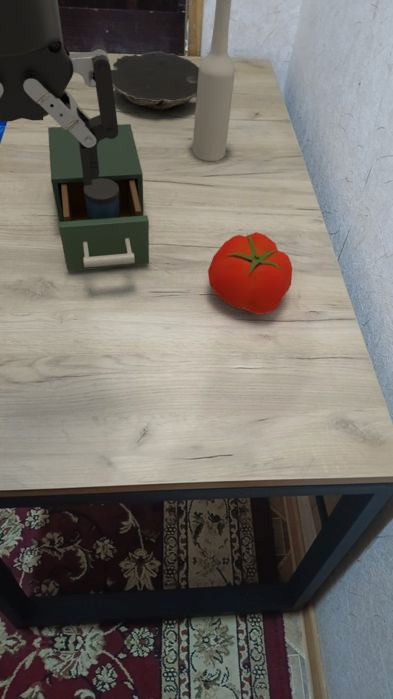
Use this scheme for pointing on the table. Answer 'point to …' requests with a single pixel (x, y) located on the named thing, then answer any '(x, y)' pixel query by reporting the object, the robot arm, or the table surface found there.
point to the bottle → (214, 91)
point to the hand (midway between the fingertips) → (37, 183)
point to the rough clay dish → (156, 79)
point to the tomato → (250, 273)
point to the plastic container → (102, 199)
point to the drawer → (103, 230)
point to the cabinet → (113, 161)
